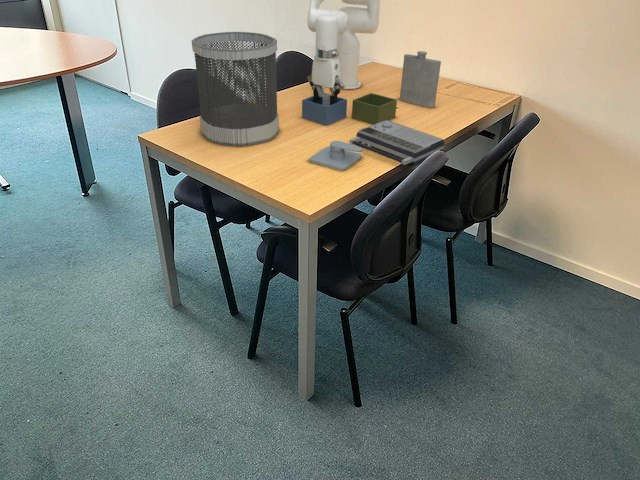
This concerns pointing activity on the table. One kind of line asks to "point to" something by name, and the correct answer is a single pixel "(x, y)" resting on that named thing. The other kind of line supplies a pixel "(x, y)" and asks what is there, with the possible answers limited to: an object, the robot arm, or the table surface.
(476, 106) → the table surface
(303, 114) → the bin
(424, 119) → the table surface
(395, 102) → the bin
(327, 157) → the shower valve
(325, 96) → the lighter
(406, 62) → the hip flask
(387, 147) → the radio
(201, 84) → the wastebasket
